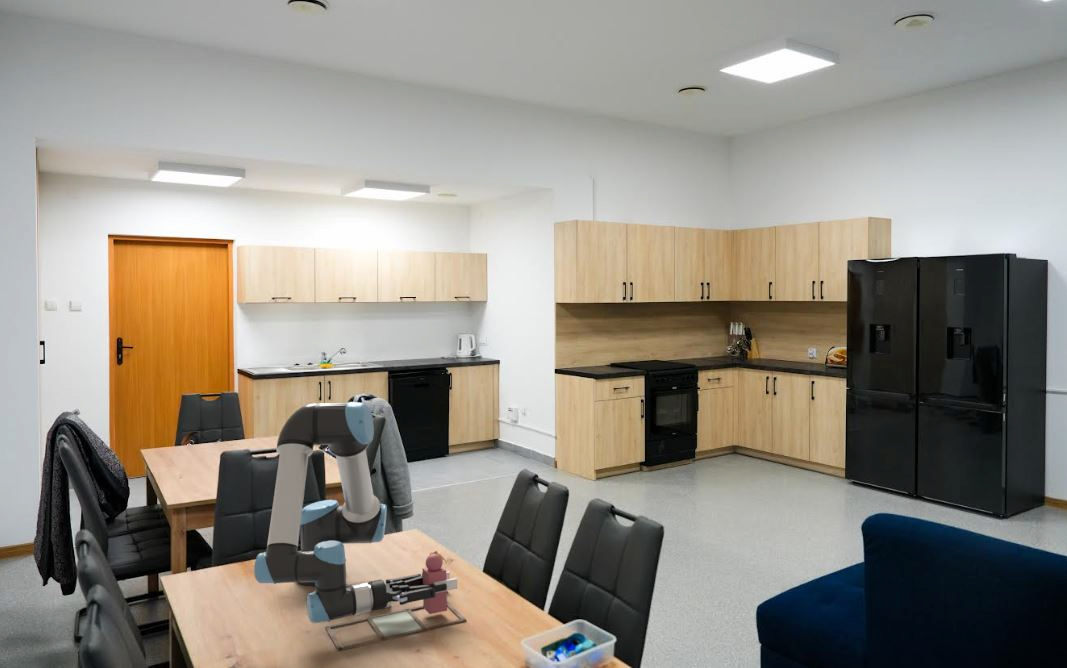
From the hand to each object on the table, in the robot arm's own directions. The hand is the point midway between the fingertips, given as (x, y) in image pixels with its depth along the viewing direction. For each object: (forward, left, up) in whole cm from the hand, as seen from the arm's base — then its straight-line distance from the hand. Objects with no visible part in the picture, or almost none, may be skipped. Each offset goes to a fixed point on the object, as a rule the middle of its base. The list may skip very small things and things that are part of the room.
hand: (452, 579), depth 204 cm
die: (-15, -16, -9) cm, 24 cm away
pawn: (0, -5, -7) cm, 9 cm away
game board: (0, -16, -9) cm, 19 cm away
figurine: (-16, +2, -9) cm, 19 cm away
